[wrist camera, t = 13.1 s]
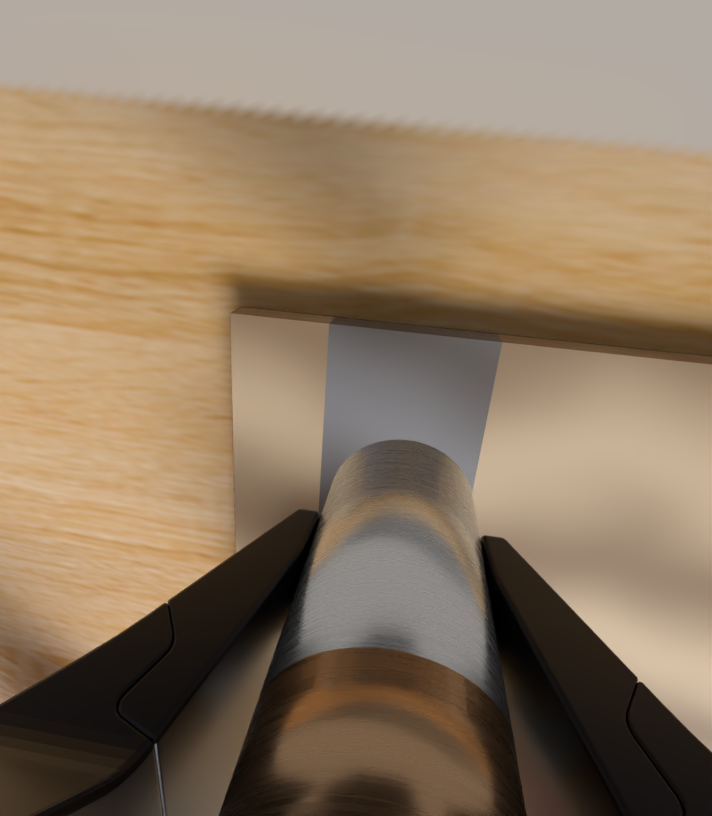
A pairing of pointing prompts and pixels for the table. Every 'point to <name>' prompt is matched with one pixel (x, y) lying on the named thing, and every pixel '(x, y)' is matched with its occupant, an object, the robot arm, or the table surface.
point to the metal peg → (385, 659)
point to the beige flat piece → (509, 462)
